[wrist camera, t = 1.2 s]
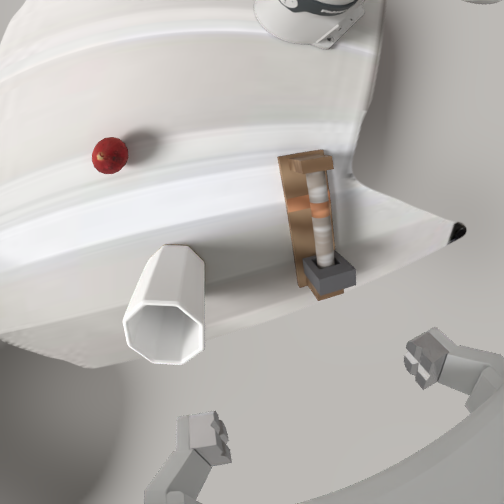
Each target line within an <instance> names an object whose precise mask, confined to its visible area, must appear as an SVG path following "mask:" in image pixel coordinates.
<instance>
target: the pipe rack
mask: <svg viewBox="0 0 504 504" xmlns="http://www.w3.org/2000/svg"><path fill="white" fill-rule="evenodd" d="M277 158H278V163H279V168H280V174H281V179H282V185H283V191H284V197H285V202H286V208H287V214H288V221H289V227H290V233H291V240H292V246H293V253H294V260H295V267H296V274H297V281H298V286H299V288H301V287H304V286H309V288H310V289H311V291H312V292H313V294H314V295H315V297H316V298H317V300H318V301H320V300H323V299H327V298H330V297H333V296H336V295H340V294H343V293H344V289H341V290H338V291H335V292H332V293H328V294H325V295H322V296H320V295H319V293H318V292H317V290H316V289H315V288H314V286H313V285H312V283H311V282H310V280H309V279H308V278H307V276H306V275H305V273H304V267H303V258H306V257H310V256H314V255H316V256H317V266H318V269H322V268H326V267H330V266H333V265H335V263H334V250H335V243H334V232H333V221H332V212H331V200H330V192H329V186H328V179H327V171H326V170H331V169H334V167H333V160H332V156H328V155H324V151H323V150H315V151H309V152H302V153H296V154H290V155H285V156H279V157H277Z"/></svg>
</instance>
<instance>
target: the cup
mask: <svg viewBox="0 0 504 504" xmlns="http://www.w3.org/2000/svg"><path fill="white" fill-rule="evenodd" d="M123 325H124V330H125V335H126V340H127V344H128V346H129V347H130V348H132V349H133V350H135V351H136V352H137V353H139V354H140V355H141V356H143V357H144V358H146V359H147V360H149V361H150V362H151V363H156V364H176V365H183V364H185V363H186V362H188V361H189V360H191V359H192V358H193V357H195V356H196V355H198V354H199V353H200V352H202V351H203V350H204V349H205V263H204V261H203V260H202V259H201V258H200V257H199V256H198V255H197V254H196V253H195V252H194V251H193V250H192V249H191V248H190V247H188V246H182V245H163V246H162V247H161V248H160V249H159V250H158V251H157V252H156V253H155V254H154V255H153V256H152V257H151V258H150V259H149V260H148V261H147V264H146V266H145V268H144V270H143V272H142V275H141V277H140V279H139V281H138V284H137V286H136V288H135V291H134V293H133V296H132V298H131V300H130V303H129V305H128V308H127V310H126V313H125V315H124V318H123Z"/></svg>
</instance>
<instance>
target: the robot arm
mask: <svg viewBox="0 0 504 504" xmlns="http://www.w3.org/2000/svg"><path fill="white" fill-rule="evenodd" d="M463 1H466V2H470V3H475V4H493V3H497V2H499V1H502V0H463ZM363 2H364V0H255V4H254V11H255V15H256V18H257V20H258V21H259V23H260V24H261V25H262V26H263V27H264V28H265V29H266V30H267V31H268V32H269V33H271V34H272V35H274V36H276V37H277V38H279V39H282V40H284V41H287V42H291V43H297V44H311V45H314V46H316V47H319V48H321V49H329V48H330V47H331V46H332V45H333V44H334V43H335V42H336V41H337V40H338V39H339V38H340V37H341V36H342V35H343V34H344V33H345V32H346V31H347V30H348V29H349V28H350V27H351V26H352V25H353V24H354V23H355V22H356V21H357V20H358V19H359V18H360V17H362V16H363V15H364V13H365V11H364V8H363V6H362V3H363ZM327 38H328V39H329V40H330V41H328V40H327ZM406 349H407V350H408V351H407V353H406V354H405V356H404V363H405V367H406V368H407V371H408V372H409V373H410V374H412V375H415V376H416V377H415V378H416V382H417V383H418V384H419V385H420V387H421V388H422V389H423V390H424V389H426V388H427V387H429V386H431V385H432V384H434V383H436V382H437V381H438V382H439V383H441V384H443V385H446V386H448V387H450V388H453V389H455V390H458V391H460V392H463V393H465V394H468V395H470V396H469V398H468V400H467V402H466V404H465V407H466V408H467V409H468V410H469V412H470V413H471V414H470V415H469V416H467V417H466V418H465V419H464V420H462V422H460V423H459V424H457V425H456V426H455V427H454V428H452V429H451V430H449V431H448V432H447V433H445V434H444V435H442V436H441V437H439V438H438V439H437V440H435V441H434V442H432V443H431V444H429V445H427V446H426V447H424V448H423V449H421V450H420V451H418V452H416V453H415V454H413V455H411V456H409V457H408V458H406V459H404V460H402V461H401V462H399V463H397V464H395V465H393V466H392V467H389V468H388V469H386V470H384V471H382V472H380V473H378V474H375V475H373V476H371V477H369V478H367V479H365V480H362V481H360V482H358V483H355V484H353V485H350V486H348V487H346V488H343V489H340V490H338V491H335V492H332V493H329V494H327V495H323V496H321V497H317V498H314V499H311V500H308V501H305V502H301V503H297V504H504V358H503V356H501V355H500V354H496V353H492V352H487V351H483V350H478V349H474V348H470V347H465V346H461V345H460V346H457V345H456V344H454V343H453V342H452V341H451V340H450V339H449V338H448V337H447V336H446V335H445V334H444V333H443V332H441V331H440V330H439V329H438V328H436V327H434V328H432V329H430V330H428V331H427V332H424V333H422V334H421V335H419V336H417V337H415V338H414V339H412V340H410V341H408V343H407V345H406ZM176 426H177V427H176V428H177V429H176V431H177V432H176V451H173V452H172V453H171V455H170V456H169V457H168V459H167V460H166V462H165V463H164V465H163V466H162V467H161V469H160V470H159V471H158V473H157V474H156V476H155V477H154V479H153V480H152V481H151V483H150V484H149V485H148V486H147V488H146V489H145V491H144V504H201V503H199V502H198V501H196V498H197V496H198V494H199V492H200V491H201V489H202V487H203V484H204V483H205V481H206V479H207V476H208V474H209V472H210V470H211V468H212V467H211V466H217V465H222V464H228V463H232V461H231V454H230V449H229V448H228V446H227V445H226V444H227V442H228V434H227V431H226V427H225V425H224V423H223V422H222V421H221V420H219V417H218V414H217V412H216V411H211V412H206V413H199V414H193V415H186V416H180V417H178V418H177V425H176Z"/></svg>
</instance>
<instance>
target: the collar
mask: <svg viewBox="0 0 504 504" xmlns="http://www.w3.org/2000/svg"><path fill="white" fill-rule="evenodd" d="M334 263H335V265H333V266H330V267H326V268H322V269H318V266H317V256H316V255H314V256H310V257H306V258H303V267H304V273H305V275H306V276H307V278H308V279H309V280H310V282H311V283H312V285H313V286H314V288H315V289H316V290H317V292H318V293H319V295H320V296H322V295H325V294H328V293H332V292H335V291H338V290H341V289H345V288H348V287H351V286H354V285H356V269H355V268H354V267H353V266H352V265H351V264H350V263H349V262H348V261H346V260H345V259H344V258H343V257H342V256H341V255H340V254H339V253H338V252H337V251H335V250H334Z"/></svg>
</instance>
